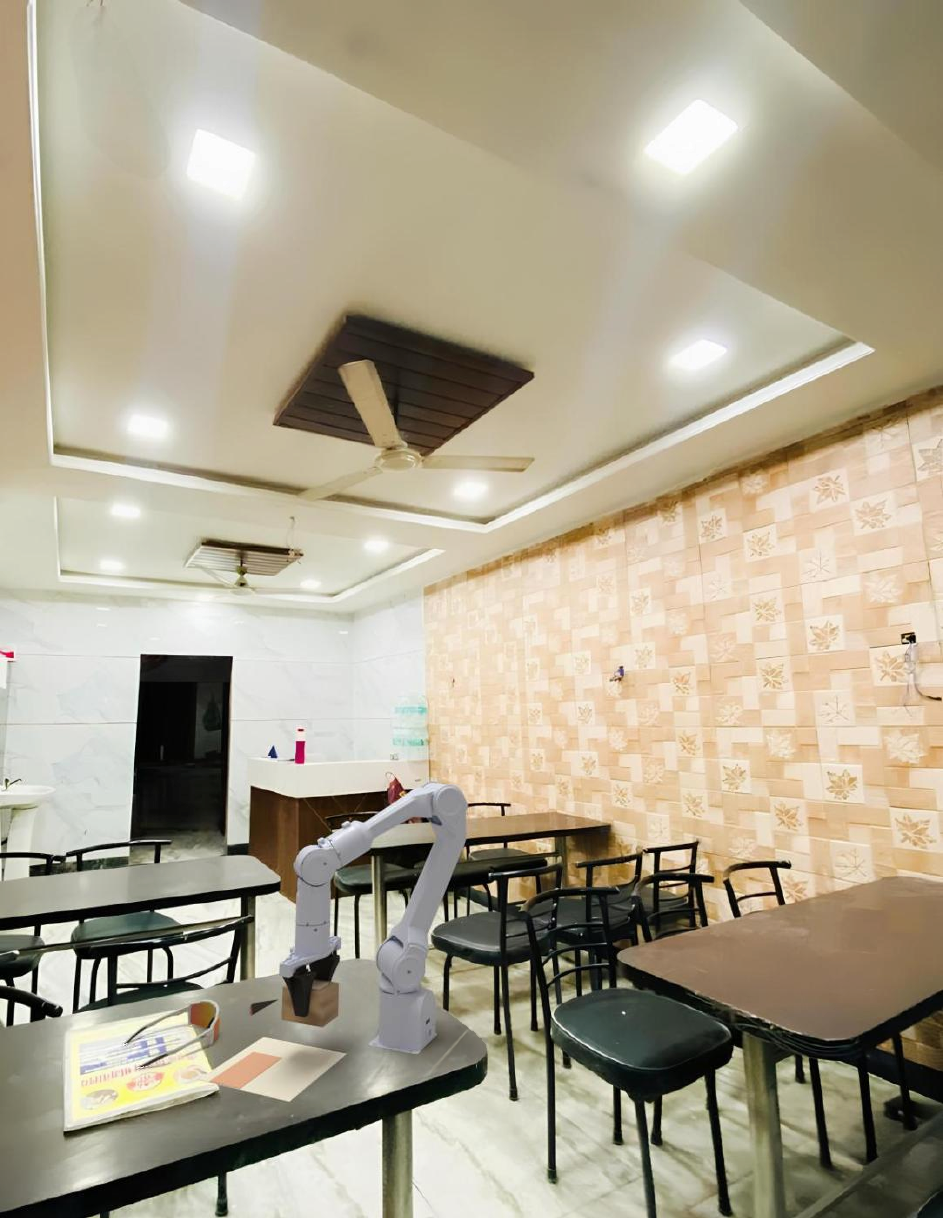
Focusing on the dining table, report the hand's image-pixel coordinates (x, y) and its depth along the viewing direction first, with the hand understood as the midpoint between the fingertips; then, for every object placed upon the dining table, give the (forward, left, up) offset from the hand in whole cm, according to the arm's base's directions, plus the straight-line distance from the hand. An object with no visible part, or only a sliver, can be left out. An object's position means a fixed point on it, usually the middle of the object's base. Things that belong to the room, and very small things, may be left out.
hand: (310, 1009), depth 107 cm
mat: (+4, +4, -8) cm, 10 cm away
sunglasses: (+26, +3, -9) cm, 27 cm away
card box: (0, 0, -1) cm, 1 cm away
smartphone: (+17, -11, -9) cm, 22 cm away
